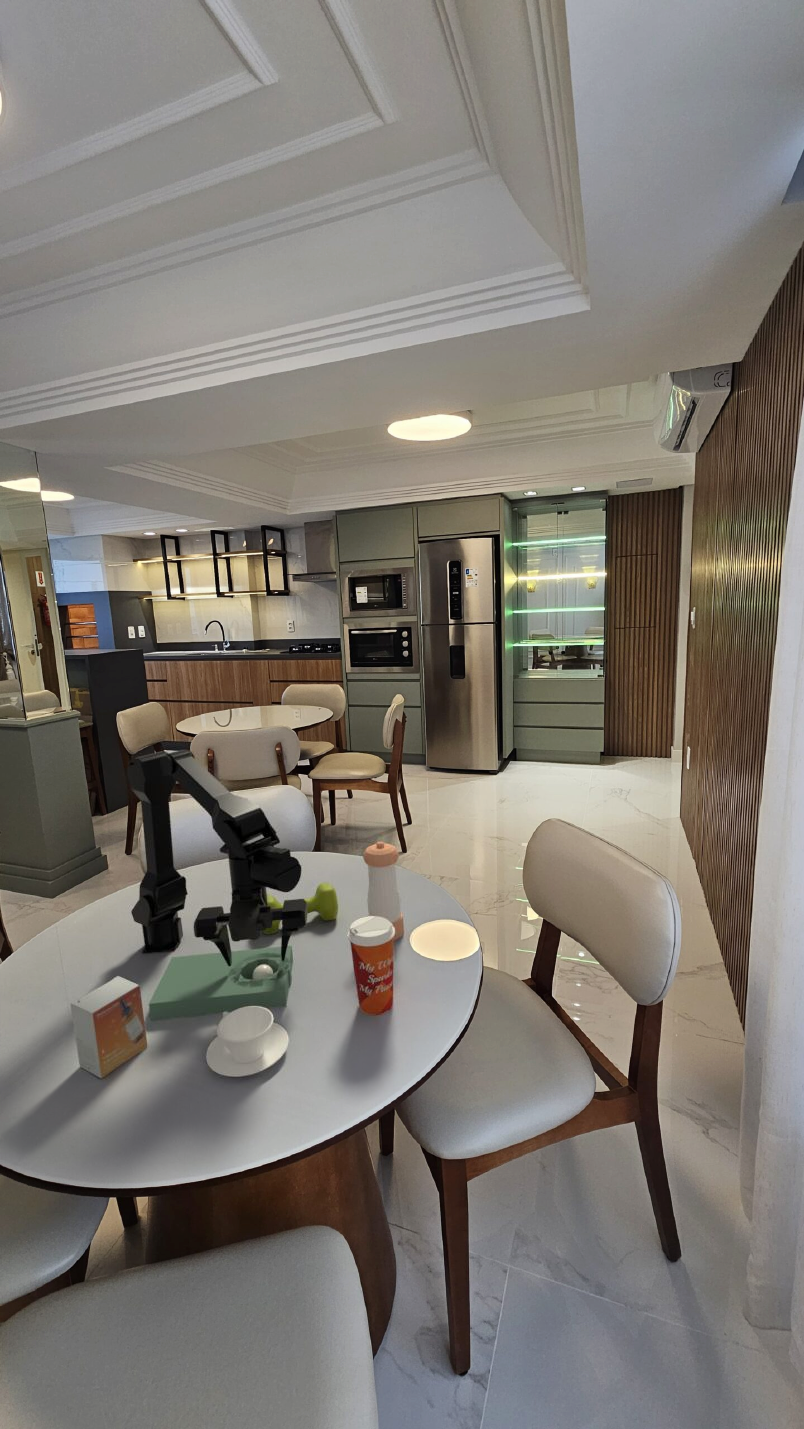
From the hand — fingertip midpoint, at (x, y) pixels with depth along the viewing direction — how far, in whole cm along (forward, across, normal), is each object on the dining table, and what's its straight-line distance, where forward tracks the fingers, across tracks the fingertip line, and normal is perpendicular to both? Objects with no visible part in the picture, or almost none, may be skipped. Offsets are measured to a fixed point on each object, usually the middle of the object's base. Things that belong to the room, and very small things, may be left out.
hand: (256, 962), depth 111 cm
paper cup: (+5, +20, -9) cm, 23 cm away
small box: (+5, -20, -15) cm, 25 cm away
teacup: (+5, +1, -18) cm, 18 cm away
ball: (+3, +1, 0) cm, 3 cm away
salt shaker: (+5, +23, +14) cm, 28 cm away
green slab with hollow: (+4, -6, 0) cm, 7 cm away
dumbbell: (+5, +6, +22) cm, 23 cm away
